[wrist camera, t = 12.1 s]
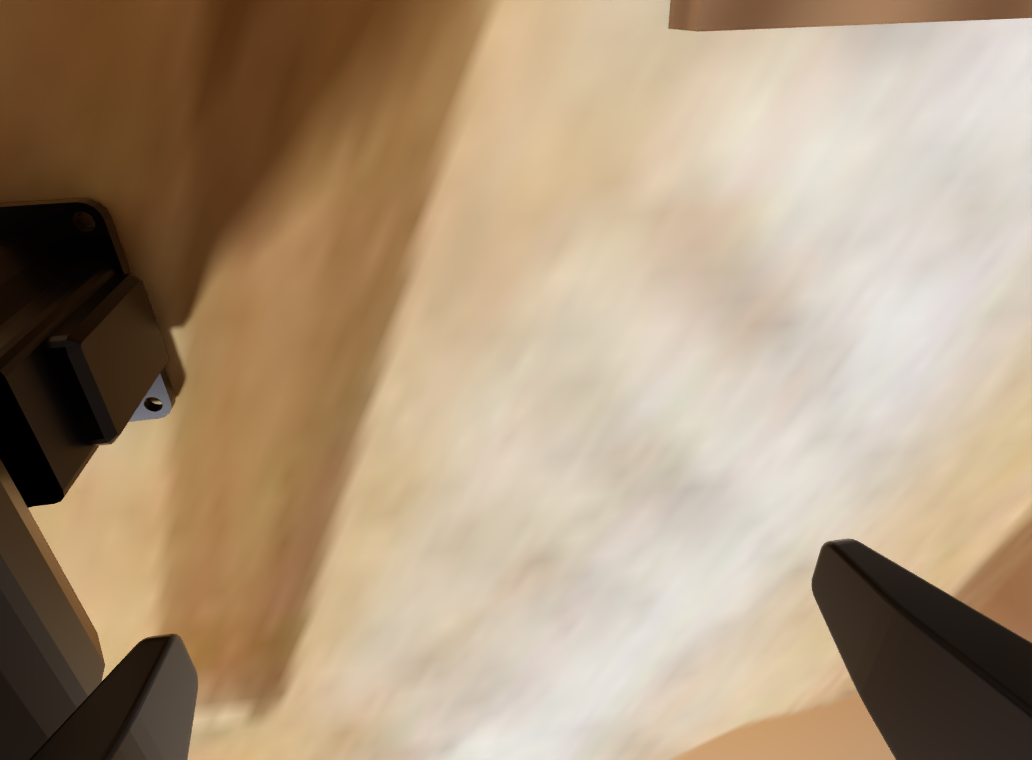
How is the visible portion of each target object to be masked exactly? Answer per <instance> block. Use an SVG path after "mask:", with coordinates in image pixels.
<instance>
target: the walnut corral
mask: <svg viewBox="0 0 1032 760" xmlns="http://www.w3.org/2000/svg"><path fill="white" fill-rule="evenodd" d="M1014 18H1032V0H671V4H670V16H669V29H679V30H690V31H721V30H745V29H770V28H794V27H819V26H843V25H867V24H892V23H916V22H941V21H965V20H989V19H1014Z"/></svg>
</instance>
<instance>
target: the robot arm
mask: <svg viewBox="0 0 1032 760" xmlns="http://www.w3.org/2000/svg"><path fill="white" fill-rule="evenodd" d="M79 212H85V213H87V214H89V215H90V216H91V217H92V218H93V219H94V221H95V227H90V226H87V225H85V224H84V223H82V221H81V220H80V218H79ZM168 360H169V356H168V353H167V350H166V347H165V344H164V342H163V339H162V336H161V333H160V330H159V327H158V324H157V322H156V319H155V316H154V313H153V310H152V307H151V304H150V302H149V299H148V296H147V293H146V290H145V287H144V284H143V282H142V281H141V280H140V279H139V278H138V277H136V276H135V275H134V274H132V273H131V271H130V268H129V266H128V263H127V260H126V257H125V254H124V252H123V249H122V246H121V243H120V240H119V238H118V235H117V232H116V229H115V226H114V224H113V221H112V218H111V215H110V214H109V212H108V210H107V209H106V208H105V207H104V206H103V205H102V204H101V203H100V202H97V201H95V200H93V199H89V198H73V199H57V200H42V201H27V202H11V203H0V760H187V758H188V752H189V745H190V738H191V732H192V725H193V718H194V712H195V705H196V698H197V691H198V676H197V672H196V669H195V667H194V665H193V663H192V660H191V658H190V656H189V654H188V652H187V649H186V647H185V645H184V643H183V641H182V639H181V637H180V636H178V635H177V634H167V635H159V636H152V637H148V638H145V639H143V640H142V641H140V642H139V643H138V644H137V645H136V646H135V647H134V648H133V649H132V650H131V651H130V652H129V653H128V654H127V655H126V656H125V658H124V659H123V660H122V661H121V662H120V663H119V664H118V665H117V666H116V667H115V668H114V669H113V670H112V671H111V673H110V674H109V675H108V676H107V677H106V678H105V679H104V680H103V681H102V676H103V672H104V667H105V663H104V659H103V655H102V651H101V647H100V642H99V638H98V634H97V632H96V630H95V628H94V626H93V624H92V623H91V621H90V619H89V617H88V615H87V614H86V612H85V610H84V608H83V606H82V605H81V603H80V601H79V599H78V597H77V596H76V594H75V592H74V590H73V588H72V587H71V585H70V583H69V581H68V579H67V578H66V576H65V574H64V572H63V570H62V569H61V567H60V565H59V563H58V561H57V560H56V558H55V556H54V554H53V552H52V551H51V549H50V547H49V545H48V543H47V542H46V540H45V538H44V536H43V534H42V533H41V531H40V529H39V527H38V525H37V524H36V522H35V520H34V518H33V516H32V515H31V513H30V511H29V509H28V508H29V507H32V506H39V505H48V504H55V503H58V502H61V500H62V499H63V498H64V496H65V495H66V493H67V492H68V491H69V489H70V488H71V486H72V485H73V483H74V482H75V480H76V479H77V477H78V476H79V474H80V473H81V471H82V470H83V469H84V467H85V466H86V464H87V463H88V461H89V460H90V458H91V457H92V455H93V454H94V452H95V451H96V450H97V448H98V447H99V445H108V444H112V443H113V442H115V440H116V439H117V438H118V436H119V435H120V434H121V432H122V431H123V429H124V428H125V426H126V425H127V423H128V422H129V421H139V420H148V419H158V418H162V417H165V416H166V415H168V414H169V413H170V411H171V409H172V408H173V406H174V403H175V394H174V392H173V389H172V386H171V383H170V380H169V378H168V375H167V372H166V369H165V365H166V363H167V362H168ZM149 397H154V398H157V399H159V400H160V401H161V402H162V404H161V405H159V404H154V403H152V402H151V401H150V400H149ZM812 591H813V595H814V597H815V600H816V602H817V604H818V606H819V609H820V611H821V613H822V615H823V617H824V620H825V622H826V624H827V626H828V628H829V631H830V633H831V635H832V637H833V639H834V642H835V644H836V646H837V648H838V650H839V653H840V655H841V657H842V659H843V661H844V664H845V666H846V668H847V670H848V672H849V675H850V677H851V679H852V681H853V683H854V685H855V687H856V689H857V691H858V693H859V695H860V697H861V699H862V701H863V703H864V705H865V706H866V708H867V710H868V712H869V714H870V715H871V717H872V719H873V721H874V722H875V724H876V726H877V727H878V729H879V731H880V732H881V734H882V736H883V738H884V740H885V741H886V743H887V745H888V747H889V748H890V750H891V752H892V754H893V755H894V757H895V759H896V760H1032V643H1031V642H1029V641H1028V640H1026V639H1024V638H1023V637H1021V636H1019V635H1018V634H1016V633H1014V632H1012V631H1011V630H1009V629H1007V628H1005V627H1004V626H1002V625H1000V624H999V623H997V622H995V621H993V620H992V619H990V618H988V617H987V616H985V615H983V614H982V613H980V612H978V611H977V610H975V609H973V608H971V607H970V606H968V605H966V604H965V603H963V602H961V601H959V600H958V599H956V598H954V597H953V596H951V595H949V594H947V593H946V592H944V591H942V590H941V589H939V588H937V587H936V586H934V585H932V584H930V583H929V582H927V581H925V580H924V579H922V578H920V577H918V576H917V575H915V574H913V573H912V572H910V571H908V570H906V569H905V568H903V567H901V566H900V565H898V564H896V563H895V562H893V561H891V560H889V559H888V558H886V557H884V556H883V555H881V554H879V553H877V552H876V551H874V550H872V549H871V548H869V547H867V546H865V545H864V544H862V543H860V542H858V541H856V540H854V539H841V540H834V541H828V542H826V543H825V544H824V545H823V546H822V548H821V550H820V554H819V557H818V560H817V564H816V567H815V570H814V574H813V577H812ZM101 681H102V682H101Z"/></svg>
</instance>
